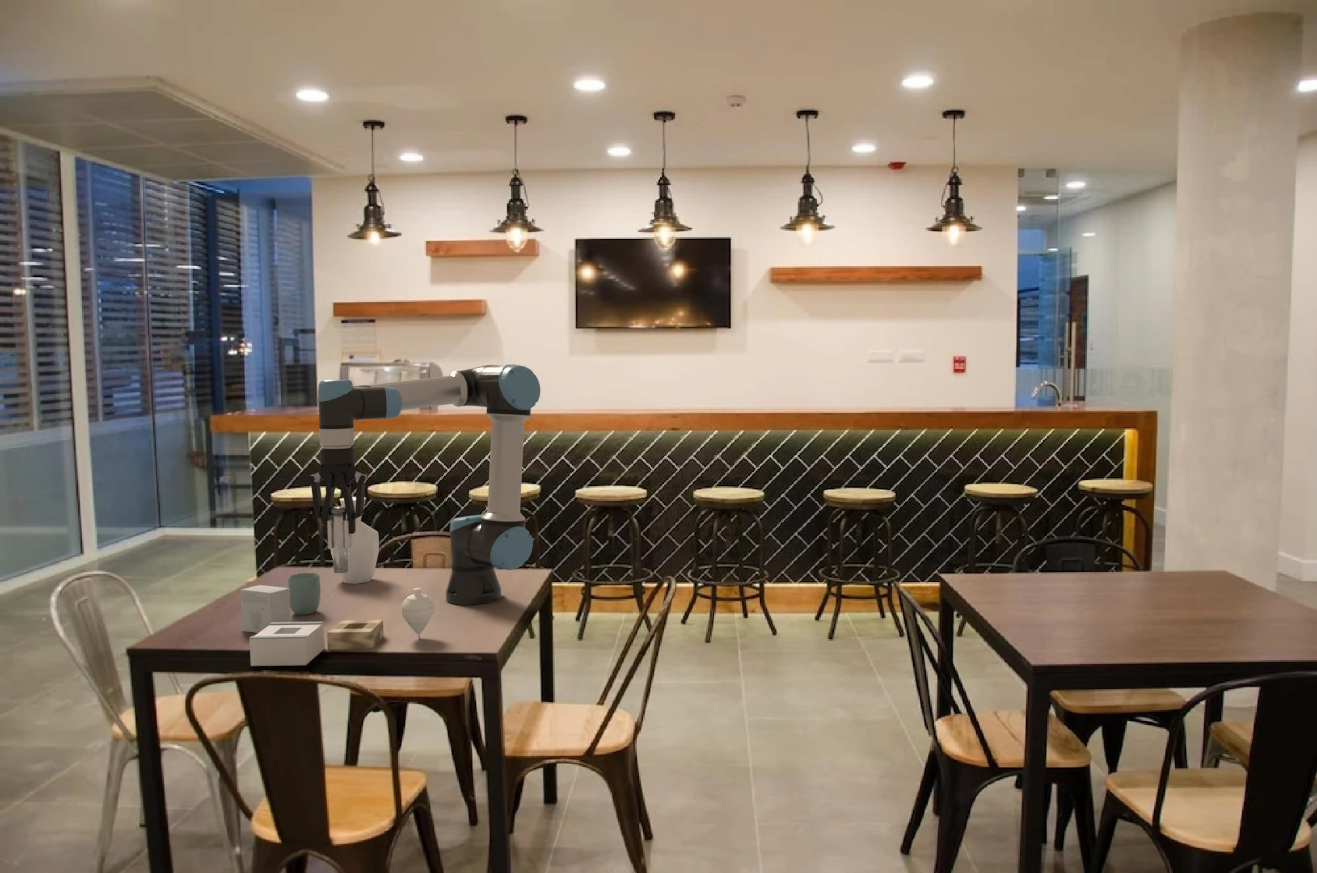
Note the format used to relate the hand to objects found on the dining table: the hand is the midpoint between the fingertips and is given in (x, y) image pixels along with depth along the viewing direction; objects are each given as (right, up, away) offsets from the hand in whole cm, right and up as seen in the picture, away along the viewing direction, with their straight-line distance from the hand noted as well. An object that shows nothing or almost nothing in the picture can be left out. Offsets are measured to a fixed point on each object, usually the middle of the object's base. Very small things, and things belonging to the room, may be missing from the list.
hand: (340, 547), depth 218 cm
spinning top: (+16, -23, +7) cm, 29 cm away
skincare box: (-24, -22, +16) cm, 36 cm away
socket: (-9, -24, -6) cm, 26 cm away
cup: (-20, -21, +31) cm, 42 cm away
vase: (-18, -18, +67) cm, 71 cm away
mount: (+2, -23, +4) cm, 23 cm away
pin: (0, -6, 0) cm, 6 cm away
